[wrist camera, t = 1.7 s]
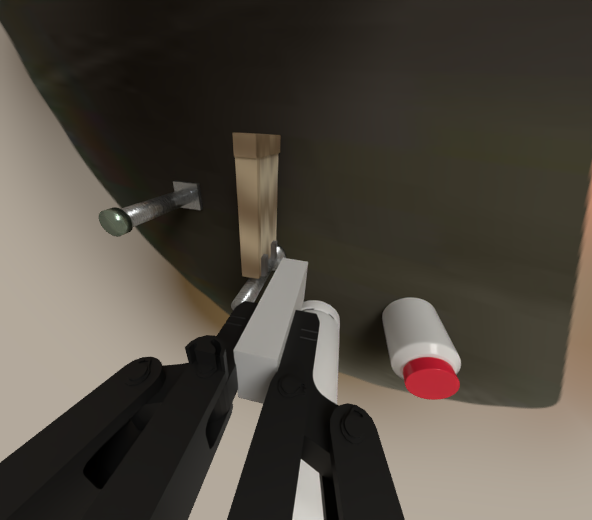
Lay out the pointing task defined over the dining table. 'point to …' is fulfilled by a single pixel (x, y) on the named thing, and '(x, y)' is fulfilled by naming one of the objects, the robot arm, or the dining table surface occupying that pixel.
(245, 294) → the hinge post
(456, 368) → the pill bottle
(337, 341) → the bottle
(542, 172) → the dining table surface
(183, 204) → the latch post
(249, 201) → the gate
